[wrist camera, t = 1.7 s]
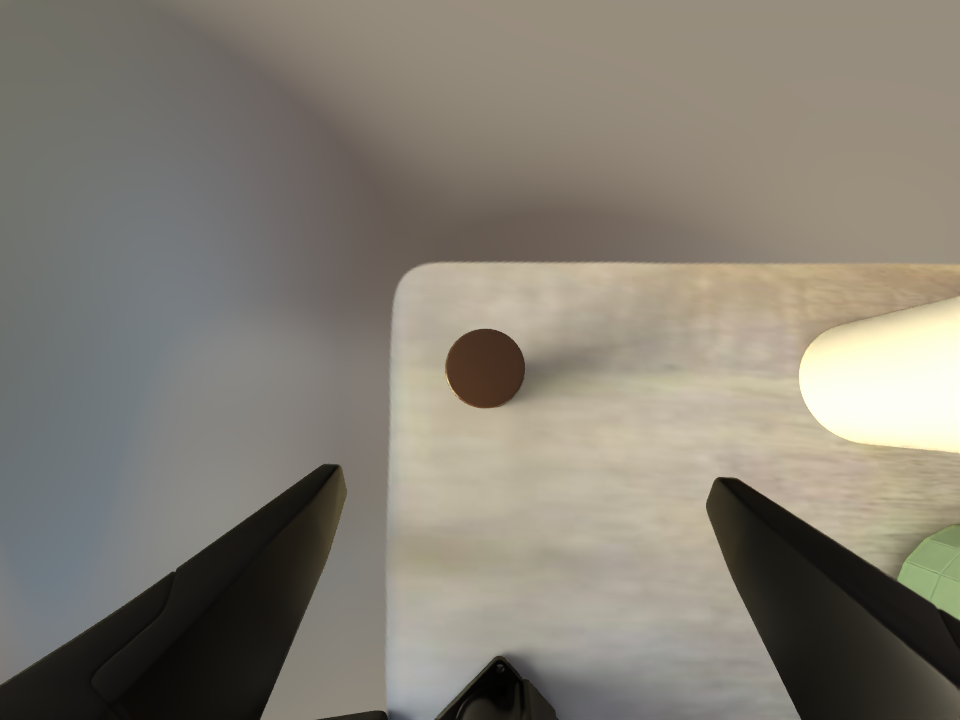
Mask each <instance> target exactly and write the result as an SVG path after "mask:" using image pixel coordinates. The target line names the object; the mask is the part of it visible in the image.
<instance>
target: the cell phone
mask: <svg viewBox="0 0 960 720" xmlns="http://www.w3.org/2000/svg"><path fill="white" fill-rule="evenodd" d="M318 720H388V717H387V715H386V713H385V712H384V711H369V712H363V713H357V714H350V715H344V716H338V717H331V718H324V719H318Z"/></svg>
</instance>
